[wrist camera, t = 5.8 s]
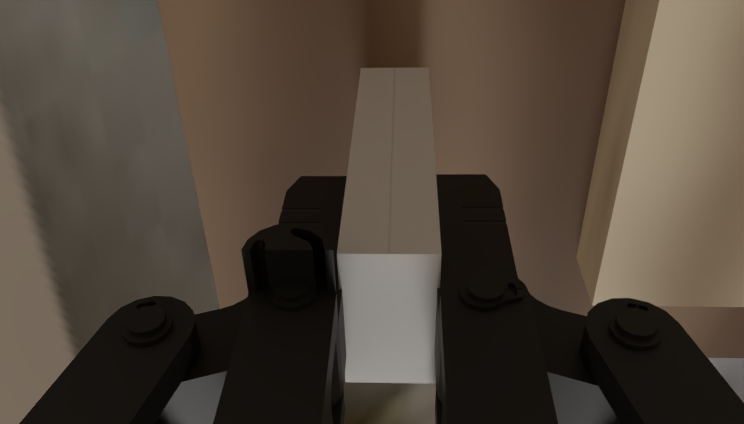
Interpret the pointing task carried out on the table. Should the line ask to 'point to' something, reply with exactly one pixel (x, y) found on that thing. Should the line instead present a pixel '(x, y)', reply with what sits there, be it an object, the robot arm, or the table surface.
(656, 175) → the maple tile
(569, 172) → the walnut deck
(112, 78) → the table surface
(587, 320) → the robot arm
